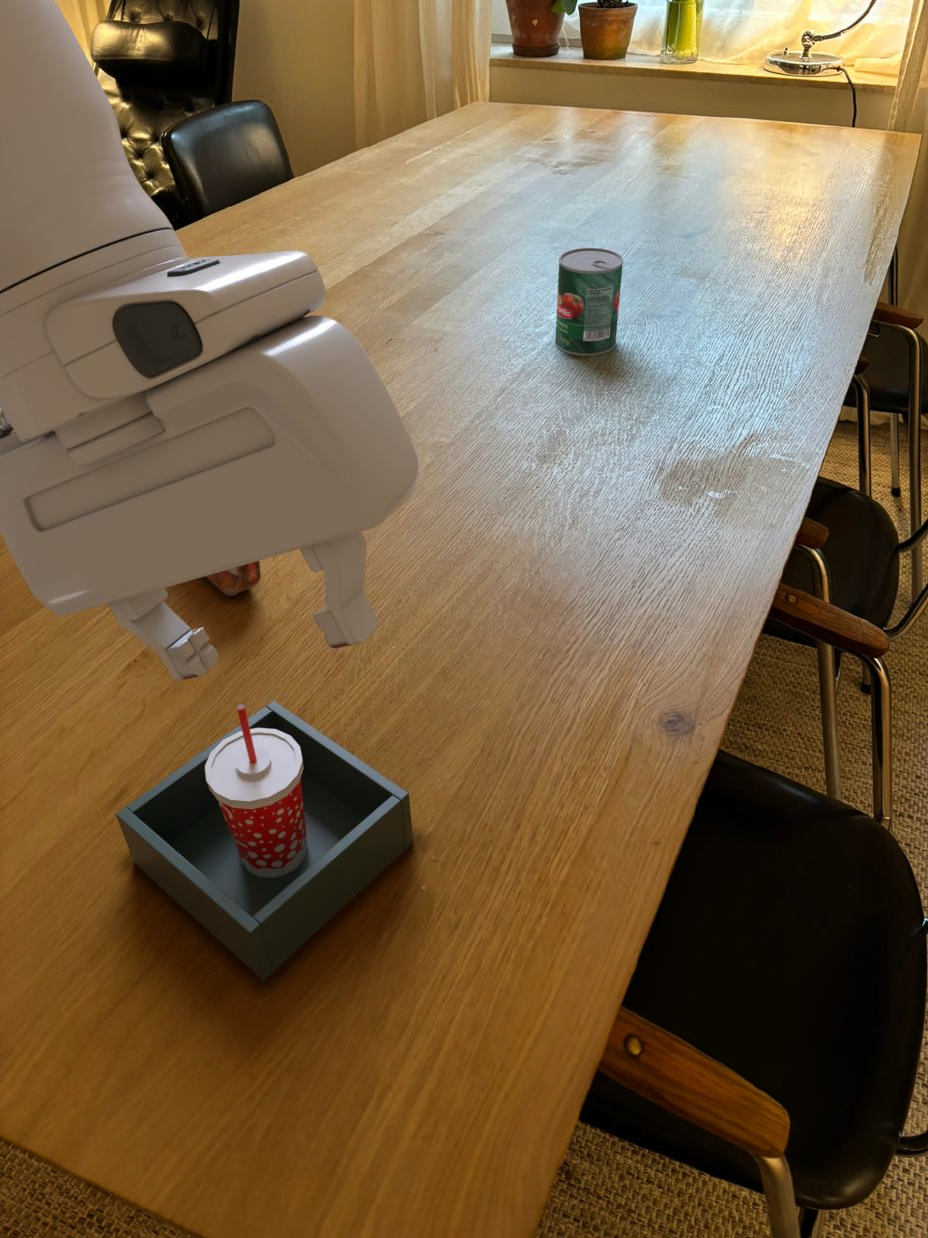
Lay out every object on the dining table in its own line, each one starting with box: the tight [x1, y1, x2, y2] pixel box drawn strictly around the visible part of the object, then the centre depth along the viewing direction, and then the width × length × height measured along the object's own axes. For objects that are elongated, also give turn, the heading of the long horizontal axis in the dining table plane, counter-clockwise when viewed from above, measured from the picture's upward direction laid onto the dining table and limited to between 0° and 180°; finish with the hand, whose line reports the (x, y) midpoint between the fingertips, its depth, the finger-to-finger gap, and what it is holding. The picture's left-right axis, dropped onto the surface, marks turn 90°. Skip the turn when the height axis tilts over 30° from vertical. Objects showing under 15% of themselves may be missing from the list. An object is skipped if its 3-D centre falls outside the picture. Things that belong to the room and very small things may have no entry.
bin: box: [115, 700, 414, 981], centre depth 67 cm, size 14×14×5 cm
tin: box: [204, 560, 262, 597], centre depth 91 cm, size 15×3×8 cm, turn 40°
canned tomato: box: [554, 247, 624, 357], centre depth 125 cm, size 8×8×11 cm
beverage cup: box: [205, 703, 308, 878], centre depth 64 cm, size 6×6×14 cm
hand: (273, 656), depth 43 cm, fingers open, 8 cm apart
